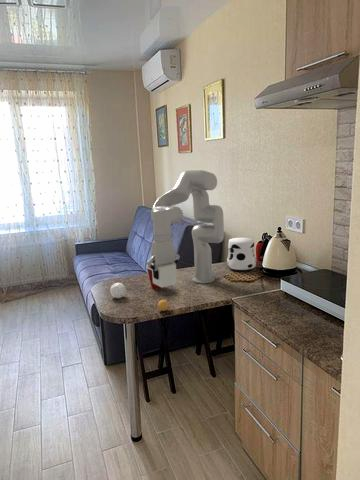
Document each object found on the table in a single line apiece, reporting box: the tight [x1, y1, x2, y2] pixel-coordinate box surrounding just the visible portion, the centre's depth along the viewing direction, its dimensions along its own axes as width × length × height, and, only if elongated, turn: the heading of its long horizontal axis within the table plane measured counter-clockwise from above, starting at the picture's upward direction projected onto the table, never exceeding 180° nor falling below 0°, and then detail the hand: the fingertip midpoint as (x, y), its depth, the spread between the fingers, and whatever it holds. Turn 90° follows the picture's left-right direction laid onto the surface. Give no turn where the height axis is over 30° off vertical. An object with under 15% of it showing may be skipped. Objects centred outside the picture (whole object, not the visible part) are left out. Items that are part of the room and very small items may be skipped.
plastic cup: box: [145, 264, 162, 290], centre depth 197 cm, size 11×11×12 cm
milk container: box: [226, 237, 257, 272], centre depth 223 cm, size 17×17×18 cm
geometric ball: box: [109, 282, 126, 300], centre depth 185 cm, size 8×8×8 cm
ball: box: [157, 299, 169, 312], centre depth 167 cm, size 5×5×5 cm
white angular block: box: [151, 262, 178, 289], centre depth 162 cm, size 8×8×9 cm
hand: (164, 276), depth 162 cm, fingers closed on white angular block, 7 cm apart
